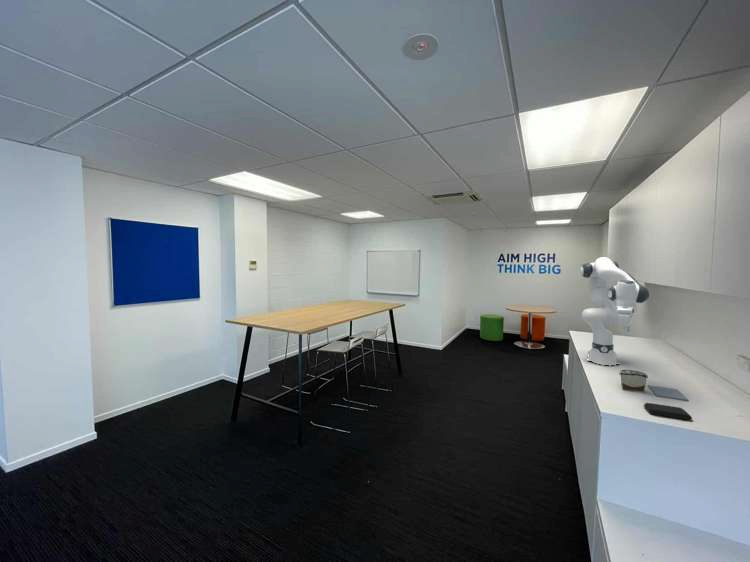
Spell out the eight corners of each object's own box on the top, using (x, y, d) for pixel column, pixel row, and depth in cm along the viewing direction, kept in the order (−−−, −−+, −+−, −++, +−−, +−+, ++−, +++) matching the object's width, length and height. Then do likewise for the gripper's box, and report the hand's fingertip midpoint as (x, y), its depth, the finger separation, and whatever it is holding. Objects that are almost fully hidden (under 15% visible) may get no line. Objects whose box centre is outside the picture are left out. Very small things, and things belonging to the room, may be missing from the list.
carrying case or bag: (682, 412, 138) (641, 406, 145) (682, 405, 138) (641, 400, 145) (693, 423, 129) (649, 415, 135) (694, 416, 129) (650, 409, 135)
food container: (642, 388, 165) (643, 370, 164) (647, 392, 159) (648, 374, 158) (615, 385, 170) (615, 368, 169) (619, 389, 164) (619, 371, 164)
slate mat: (647, 386, 167) (647, 384, 167) (676, 390, 161) (676, 388, 161) (656, 396, 154) (656, 395, 154) (688, 401, 148) (688, 399, 148)
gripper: (621, 307, 176) (621, 330, 176) (616, 309, 162) (616, 334, 162) (635, 307, 172) (635, 331, 172) (631, 310, 158) (631, 336, 158)
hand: (626, 333), depth 167 cm, fingers open, 8 cm apart
